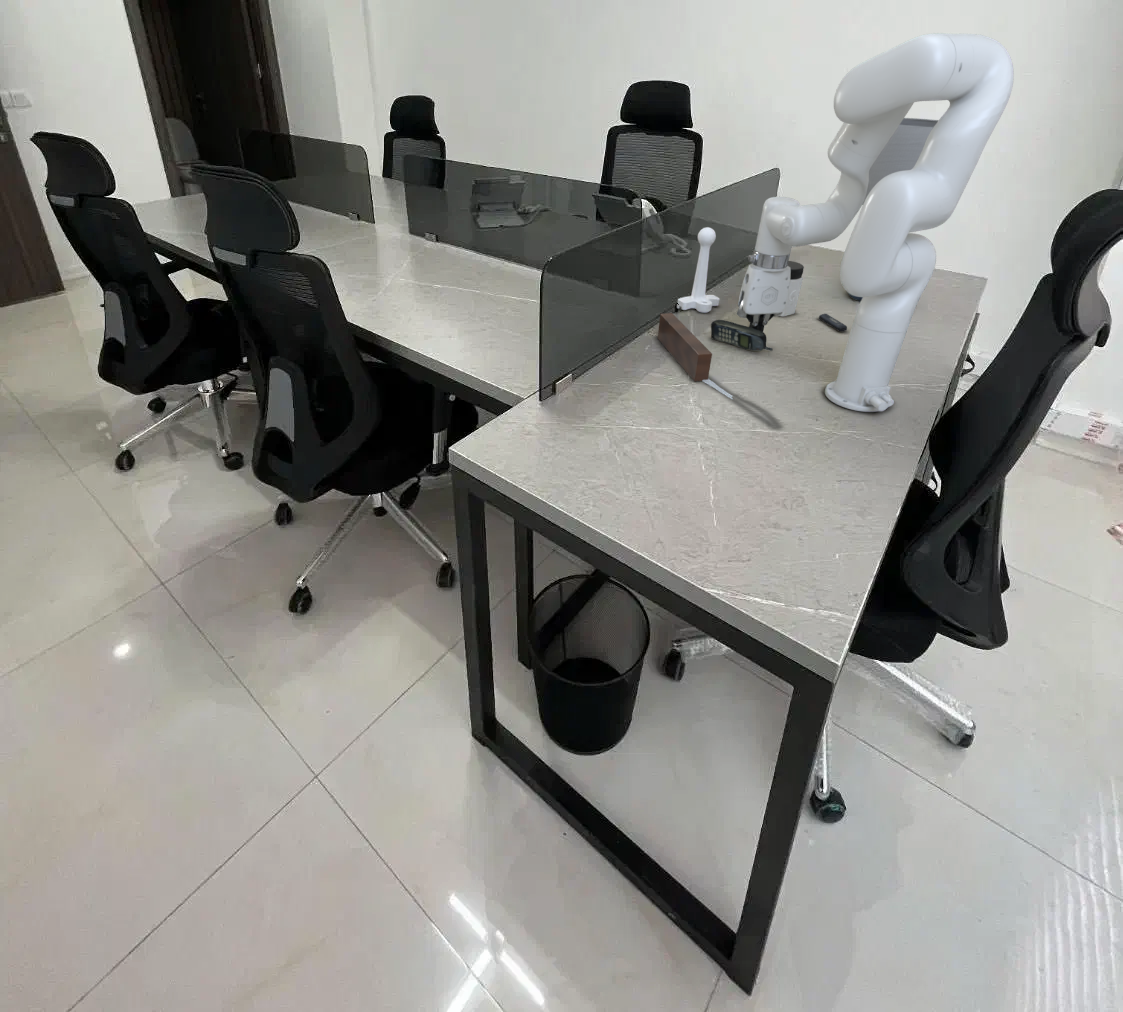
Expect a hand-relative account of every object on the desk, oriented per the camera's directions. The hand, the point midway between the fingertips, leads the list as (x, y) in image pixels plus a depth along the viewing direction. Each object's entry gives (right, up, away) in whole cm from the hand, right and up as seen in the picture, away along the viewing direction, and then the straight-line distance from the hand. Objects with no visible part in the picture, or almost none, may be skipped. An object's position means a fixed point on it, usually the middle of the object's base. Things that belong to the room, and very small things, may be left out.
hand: (753, 339), depth 153 cm
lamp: (+40, +19, +30) cm, 54 cm away
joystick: (-8, +13, +21) cm, 26 cm away
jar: (+12, +13, +20) cm, 27 cm away
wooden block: (-18, -6, -6) cm, 20 cm away
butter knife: (-11, -17, -21) cm, 29 cm away
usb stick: (+23, +7, +12) cm, 27 cm away
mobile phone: (-3, -1, 0) cm, 3 cm away
